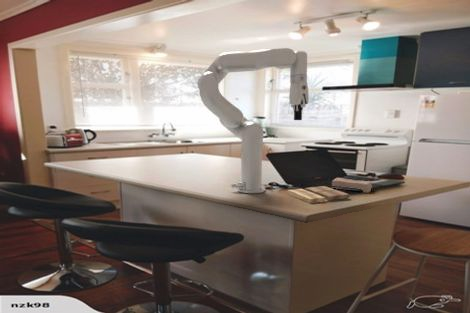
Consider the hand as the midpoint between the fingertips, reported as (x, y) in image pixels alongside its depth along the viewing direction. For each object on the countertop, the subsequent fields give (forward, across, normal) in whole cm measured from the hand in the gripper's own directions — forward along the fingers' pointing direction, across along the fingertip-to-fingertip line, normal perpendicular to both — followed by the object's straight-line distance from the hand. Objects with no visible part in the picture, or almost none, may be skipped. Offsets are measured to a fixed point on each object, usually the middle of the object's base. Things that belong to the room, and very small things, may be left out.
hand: (297, 120), depth 162 cm
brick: (+33, -11, -22) cm, 41 cm away
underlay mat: (+32, -18, 0) cm, 37 cm away
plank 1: (+32, -13, -4) cm, 35 cm away
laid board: (+32, -18, +6) cm, 37 cm away
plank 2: (+32, -23, -4) cm, 39 cm away
